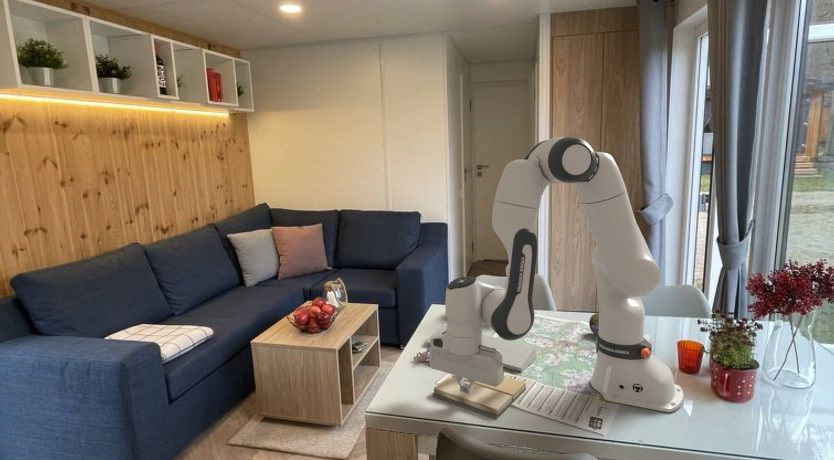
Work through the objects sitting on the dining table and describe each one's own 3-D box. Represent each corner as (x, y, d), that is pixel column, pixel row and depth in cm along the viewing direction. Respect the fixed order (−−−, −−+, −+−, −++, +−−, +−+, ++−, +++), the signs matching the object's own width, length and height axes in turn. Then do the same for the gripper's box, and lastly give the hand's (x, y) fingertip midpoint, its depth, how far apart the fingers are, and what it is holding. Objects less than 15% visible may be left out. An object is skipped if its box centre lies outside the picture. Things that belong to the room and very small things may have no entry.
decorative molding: (522, 381, 141) (536, 359, 148) (520, 368, 139) (534, 347, 146) (428, 353, 161) (444, 335, 168) (426, 341, 159) (442, 324, 166)
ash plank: (511, 401, 124) (511, 396, 123) (497, 415, 118) (497, 409, 117) (449, 381, 135) (449, 376, 135) (434, 393, 129) (434, 387, 129)
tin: (588, 334, 164) (589, 310, 163) (593, 331, 166) (594, 308, 165) (631, 347, 153) (632, 322, 151) (636, 344, 155) (637, 319, 153)
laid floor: (526, 389, 130) (526, 381, 130) (496, 419, 117) (496, 411, 117) (465, 371, 142) (465, 364, 141) (432, 396, 128) (432, 389, 128)
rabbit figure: (413, 368, 148) (459, 366, 142) (409, 350, 147) (456, 348, 142) (420, 359, 154) (465, 357, 148) (416, 341, 153) (461, 339, 147)
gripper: (507, 345, 117) (509, 397, 120) (438, 329, 129) (440, 376, 132) (495, 355, 112) (497, 409, 115) (424, 337, 124) (427, 386, 127)
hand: (466, 391), depth 123 cm, fingers closed
